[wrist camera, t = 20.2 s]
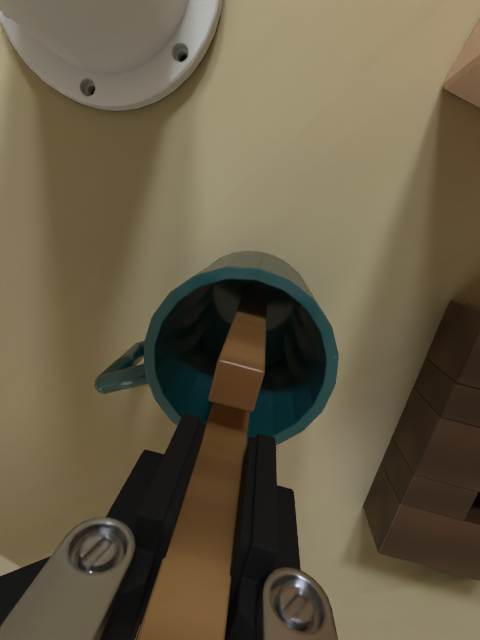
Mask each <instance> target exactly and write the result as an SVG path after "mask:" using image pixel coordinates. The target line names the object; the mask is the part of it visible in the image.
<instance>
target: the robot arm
mask: <svg viewBox="0 0 480 640" xmlns="http://www.w3.org/2000/svg"><path fill="white" fill-rule="evenodd" d="M222 3H223V0H0V22H1V24H2V26H3V28H4V30H5V32H6V34H7V36H8V38H9V40H10V42H11V44H12V45H13V47H14V48H15V49H16V51H17V52H18V54H19V55H20V56H21V58H22V59H23V60H24V62H25V63H26V64H27V65H28V66H29V67H30V68H31V69H32V70H33V71H34V72H35V73H36V74H37V75H38V76H39V77H40V78H41V79H42V80H43V81H44V82H45V83H47V84H48V85H50V86H51V87H53V88H54V89H56V90H57V91H58V92H60V93H62V94H63V95H65V96H67V97H69V98H71V99H72V100H74V101H76V102H78V103H80V104H84V105H87V106H90V107H93V108H96V109H102V110H113V111H122V110H130V109H138V108H141V107H144V106H146V105H149V104H152V103H155V102H157V101H159V100H161V99H162V98H164V97H165V96H167V95H169V94H170V93H172V92H173V91H175V90H176V89H177V88H178V87H179V86H180V85H181V84H182V83H183V82H184V81H185V80H186V79H187V78H189V77H190V76H191V74H192V73H193V72H194V70H195V69H196V67H197V66H198V65H199V63H200V62H201V60H202V59H203V58H204V56H205V54H206V52H207V50H208V47H209V45H210V43H211V41H212V39H213V37H214V35H215V32H216V28H217V25H218V21H219V17H220V14H221V10H222ZM183 55H186V56H187V58H186V60H184V61H183V62H180V57H181V56H183ZM94 88H95V92H94V94H93V95H92V90H93V89H94ZM200 421H201V418H200V417H197V416H193V415H189V414H186V413H184V414H183V416H182V418H181V420H180V422H179V424H178V426H177V428H176V431H175V433H174V435H173V437H172V439H171V441H170V444H169V446H168V448H167V450H166V452H165V454H160V453H156V452H153V451H149V450H144V451H143V453H142V454H141V456H140V458H139V459H138V461H137V463H136V465H135V467H134V468H133V470H132V472H131V474H130V475H129V477H128V479H127V481H126V482H125V484H124V486H123V488H122V489H121V491H120V493H119V495H118V496H117V498H116V500H115V502H114V504H113V505H112V507H111V509H110V511H109V512H108V514H107V516H106V517H101V518H93V519H90V520H87V521H84V522H82V523H80V524H79V525H77V526H75V527H74V528H73V529H72V530H71V531H70V532H69V533H68V534H67V535H66V537H65V538H64V539H63V541H62V542H61V543H60V545H59V546H58V548H57V549H56V550H55V552H54V553H53V554H52V556H50V557H48V558H45V559H43V560H40V561H38V562H35V563H33V564H30V565H28V566H25V567H23V568H20V569H18V570H15V571H13V572H10V573H8V574H5V575H3V576H0V640H135V638H136V635H137V632H138V629H139V626H140V625H141V623H142V620H143V617H144V614H145V611H146V607H147V604H148V601H149V598H150V595H151V592H152V589H153V586H154V583H155V580H156V577H157V574H158V571H159V568H160V564H161V561H162V559H163V558H166V554H167V551H168V548H169V545H170V542H171V539H172V535H173V532H174V529H175V526H176V523H177V520H178V517H179V513H180V510H181V507H182V504H183V501H184V498H185V494H186V491H187V488H188V485H189V482H190V479H191V476H192V472H193V469H194V466H195V463H196V460H197V457H198V454H199V450H200V447H201V444H202V440H203V436H204V432H205V428H206V424H204V423H200ZM230 576H231V588H230V597H229V606H228V615H227V624H226V634H225V640H338V637H337V632H336V627H335V622H334V617H333V612H332V608H331V605H330V602H329V599H328V597H327V595H326V594H325V592H324V590H323V589H322V587H321V586H320V585H319V584H318V583H317V582H316V581H315V580H314V579H313V578H312V577H310V576H309V575H308V574H306V573H305V572H303V571H301V570H300V559H299V547H298V535H297V524H296V512H295V501H294V492H293V490H292V489H289V488H285V487H281V486H278V485H277V477H276V439H275V438H274V437H271V436H267V435H263V434H260V433H258V434H257V436H256V437H252V436H250V437H249V440H248V443H247V447H246V450H245V453H244V457H243V465H242V474H241V482H240V491H239V499H238V508H237V516H236V525H235V533H234V542H233V550H232V559H231V567H230Z"/></svg>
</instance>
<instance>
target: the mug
mask: <svg viewBox="0 0 480 640" xmlns="http://www.w3.org/2000/svg"><path fill="white" fill-rule="evenodd" d="M246 286H251V287H255V288H259V289H263V290H266V291H267V318H266V349H265V374H264V377H263V381H262V384H261V388H260V391H259V395H258V398H257V401H256V405H255V408H254V411H253V412H250V414H249V423H248V432H247V442H246V447H247V443H248V440H249V437H250V436H252V437H256V436H257V434H258V433H260V434H263V435H267V436H271V437H274V438H275V439H276V445H277V444H280V443H281V442H283V441H285V440H287V439H289V438H291V437H293V436H295V435H297V434H298V433H300V432H302V430H304V429H305V428H306V427H307V426H308V425H309V424H310V423H311V422H312V421H313V420H314V419H315V418H316V417H317V416H318V415H319V414H320V413H321V412H322V410H323V409H324V407H325V405H326V403H327V401H328V399H329V397H330V395H331V393H332V391H333V389H334V387H335V384H336V375H337V366H338V358H339V357H338V351H337V346H336V342H335V338H334V333H333V329H332V327H331V324H330V323H329V321H328V319H327V318H326V316H325V315H324V313H323V311H322V310H321V308H320V306H319V305H318V303H317V301H316V300H315V298H314V297H313V295H312V293H311V292H310V290H309V288H308V287H307V285H306V284H305V282H304V280H303V279H302V277H301V276H300V274H299V273H298V272H297V271H296V270H295V269H294V268H292V267H291V266H290V265H289V264H288V263H286V262H285V261H283V260H282V259H280V258H277V257H275V256H273V255H270V254H267V253H263V252H256V251H243V252H238V253H233V254H230V255H227V256H224V257H222V258H220V259H218V260H217V261H215V262H214V263H212V264H211V265H209V266H208V267H207V268H205V269H204V270H202V271H201V272H199V273H198V274H196V275H195V276H193V277H192V278H190V279H189V280H187V281H186V282H185V283H183V284H182V285H180V286H179V287H177V288H176V289H174V290H173V291H171V293H169V294H168V296H167V297H166V298H165V300H164V301H163V302H162V304H161V305H160V307H159V308H158V309H157V311H156V312H155V313H154V315H153V317H152V319H151V322H150V325H149V328H148V332H147V335H146V338H145V341H142V342H138V343H136V344H134V345H133V346H132V347H131V348H130V349H129V350H127V351H126V352H125V353H124V354H123V355H122V356H121V357H120V358H118V359H117V360H116V361H115V362H114V363H113V364H112V365H110V366H109V367H108V368H107V369H106V370H105V371H104V372H103V373H101V374H100V375H99V376H98V377H97V378H96V380H95V388H96V390H97V391H98V392H99V393H102V394H107V393H111V392H116V391H120V390H124V389H128V388H132V387H137V386H141V385H145V384H149V385H150V388H151V391H152V393H153V396H154V398H155V400H156V402H157V403H158V404H159V406H160V407H161V408H162V409H163V411H164V412H165V413H166V415H167V416H168V417H169V419H170V420H171V421H172V422H173V423H175V424H176V425H178V424H179V422H180V420H181V418H182V416H183V414H184V413H186V414H189V415H193V416H197V417H200V418H201V421H200V423H204V424H206V423H207V420H208V417H209V414H210V411H211V408H212V405H213V402H211V401H209V398H208V397H209V393H210V389H211V385H212V381H213V377H214V373H215V369H216V365H217V361H218V358H219V356H220V353H221V351H222V348H223V345H224V343H225V340H226V337H227V335H228V332H229V330H230V327H231V324H232V322H233V319H234V316H235V314H236V311H237V309H238V306H239V303H240V301H241V298H242V295H243V293H244V290H245V288H246ZM143 358H144V364H141V365H137V364H138V363H139V362H140V361H141V360H142V359H143ZM136 365H137V366H136Z"/></svg>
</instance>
